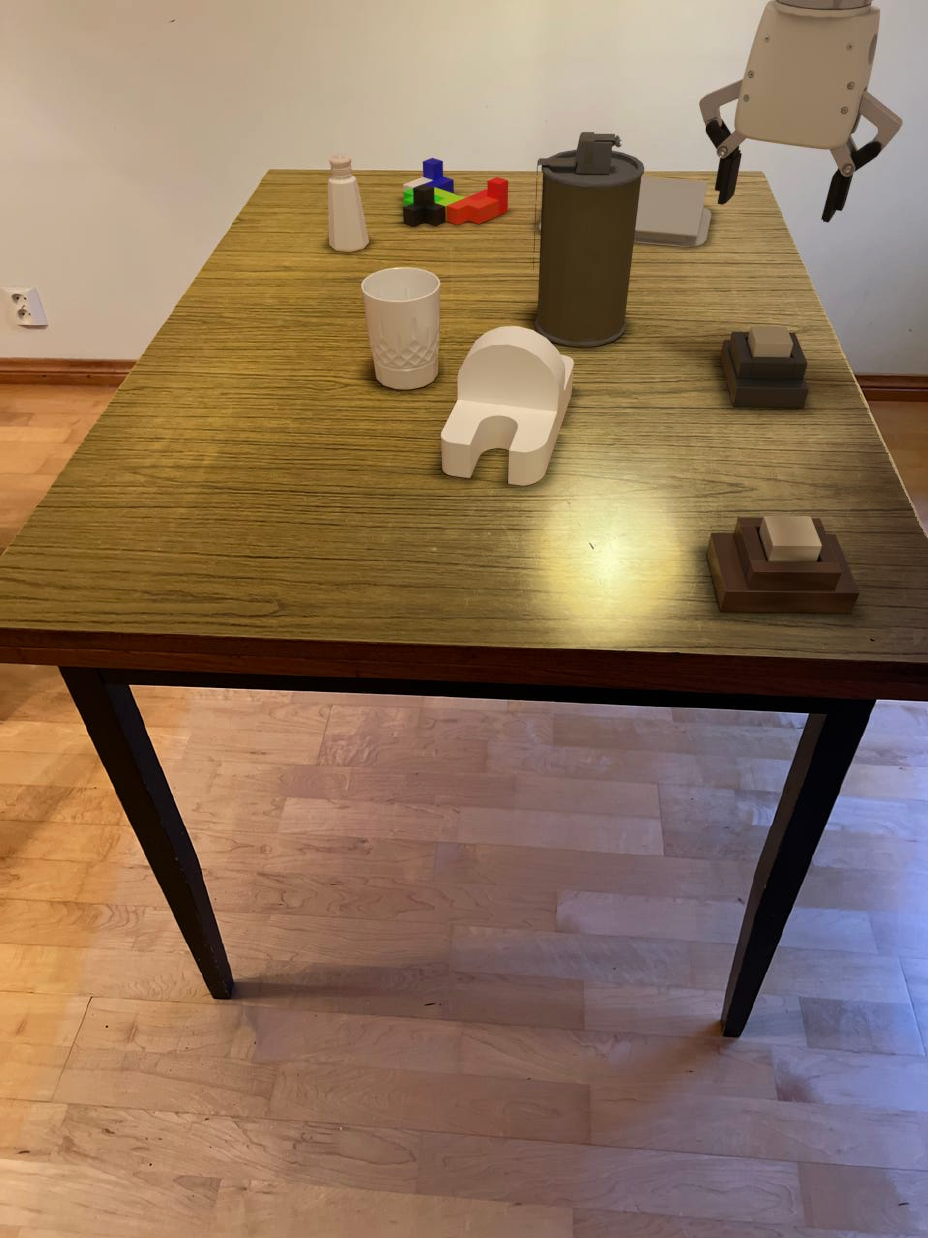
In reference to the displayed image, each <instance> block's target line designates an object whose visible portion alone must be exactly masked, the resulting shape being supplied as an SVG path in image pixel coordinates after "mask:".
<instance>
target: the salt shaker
mask: <svg viewBox="0 0 928 1238" xmlns="http://www.w3.org/2000/svg"><path fill="white" fill-rule="evenodd" d="M328 161H329V165H330V172H331V176H330V177H329V178H328V179H327V205H328V206H327V207H328V208H327V209H328V211H327V212H328V213H327V214H328V245H329V246H330V248H332V249H333V250H334V251H335V252H341V253H343V252H344V253H353V252H356V251H357V252H358V251H361V250H364V249H365V248H366V247H367V246H368V244H370V239H369V235H368V234H369V233H368V229H367V224H366V219H365V212H364V208H363V203H362V198H361V193H360V188H359V187H360V186H359V183H358V178H357V177H356V176H354V175H353V173H352V170H353V169H352V157H351V156H349V155H347V154H335V155H332V156H330V157H329V158H328Z"/></svg>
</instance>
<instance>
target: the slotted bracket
mask: <svg viewBox="0 0 928 1238" xmlns="http://www.w3.org/2000/svg"><path fill="white" fill-rule="evenodd" d="M574 366H575V361H574V359H573V358H572V357H570V356H568V355H565V354H560V352H559V350H558V349H557V348H556V347H555V345H554V344H552V341H549V340H548V339H547V338H545V337H544V336H542V335H541V334H539V332H538V331H535V330H534V329H530V328H526V327H523V326H519V325H507V326H498V327H496V328H493V329H491V330H488V331H486V332H484V333H483V335H482V334H481V336H480V337H479V338H477V339H476V340H475V341H474V343H473V345H472V346H471V348H470V350H469V351H468V353H467V355H466V357H465V358H464V360H463V362H462V364H461V365H460V367H459V370H458V372H457V383H456V385H457V401H456V403H455V404H454V407H453V409H452V411H451V412H450V415H449V416H448V418H447V420H446V422H445V424H444V426H443V428H442V430H441V432H440V445H441V446H440V447H441V469H442V471H443V473H445V474H446V475H448V476H453V477H459V478H466V479H471V477H472V475H473V472H474V470H475V468H476V466H477V463H478V461H479V459H480V457H481V455H482V454H483V453H484V452H486V451H489V450H492V449H501V450H502V449H504V450H507V451H508V477H507V478H508V480H507V481H508V482H507V483H508V485H515V486H522V487H524V486H529V485H532V484H535V483H537V482H540V481H541V480H542V479H543V478H544V477H545V475H546V473H547V471H548V467H549V464H550V461H551V458H552V455H553V452H554V449H555V447H556V443H557V441H558V438H559V433H560V431H561V427H562V424H563V421H564V420H565V419H564V418H565V416H566V412H567V410H568V407H569V404H570V401H571V397H572V393H573V392H572V391H573V379H574V368H575V367H574Z"/></svg>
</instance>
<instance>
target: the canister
mask: <svg viewBox="0 0 928 1238" xmlns="http://www.w3.org/2000/svg"><path fill="white" fill-rule="evenodd" d="M578 137H579V138H578V142H577V147H576V149H571V150H566V151H559V152H558V153H556V154H553V155H551V156H549V157H540V158H539V159H537V163H536V174H538V173H539V172H538V171H539V170H538V169H539V168H538V167H539V166H541V173H542V185H541V186H542V188H541V189H542V190H541V213H540V215H541V216H540V222H541V230H540V236H539V237H540V239H539V240H540V242H539V266H538V267H539V268H538V292H537V316H536V318H535V320H534V326H535V329H536V332H537V333H539V334H540V335H542V336H544V337H545V338H547V339H548V340H549V341H550V342H551V343H552V342H553V343H555V344H558V345H559V346H567V347H574V348H577V347H578V348H594V347H598V346H603V345H607V344H611V343H612V342H614V341H616V340H617V339H619V338H621V337H622V335H623V334H624V333H625V332H626V327H627V323H626V313H627V304H628V297H629V287H630V279H631V271H632V261H633V252H634V243H635V242H634V236H635V228H636V219H637V211H638V202H639V193H640V185H641V177H643V175H644V174H645V165H644V163H643V162H642V161H641V160H639V158H637V157H636V156H633V155H630V154H627V153H625V152H622V151H618V150H613V147H614V146H615V147H616V148H621V147H622V145H623V144H622V143H621V142H622V139H620V138H621V137H620V136H619V135H618V134H617V135H616V134H615V133H595V131H582V132H581V133H580V134H579V136H578ZM535 183H536V184H535V200H537V196H538V191H537V190H538V179H536V182H535ZM536 220H537V205H535V210H534V226H536V224H537V223H536ZM533 234H534V235H533V252H535V250H536V249H535V248H536V247H535V244H536V232H534V233H533ZM532 262H533V263H532V270H534V267H535V258H533V260H532Z"/></svg>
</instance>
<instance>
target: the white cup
mask: <svg viewBox="0 0 928 1238" xmlns="http://www.w3.org/2000/svg"><path fill="white" fill-rule="evenodd" d="M360 284H361V285H360V289H361V296H362V303H363V309H364V316H365V323H366V329H367V334H368V342H369V346H370V353H371V355H372V359H373V364H374V365H373V366H374V371H375V378H376V379H375V380H377V381H378V382H379V383H380V384H381V385H383V386H384V387H388V388H390V389H394V390H414V389H419V388H424V387H426V386H427V385H429V384H431V383H433V382H434V381H435V379H436V378H437V377H438V375H439V349H440V336H441V335H440V334H441V280H440V278H439V276H437V275H436V274H434V273H433V272H431V271H429V270H426V269H423V268H418V267H409V266H401V267H398V266H397V267H390V268H385V269H384V268H383V269H381V270H378V271H375V272H373V273H370V274H369V275H367V276H366V277H365V278H364V279H363V280H362V282H361V283H360Z"/></svg>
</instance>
